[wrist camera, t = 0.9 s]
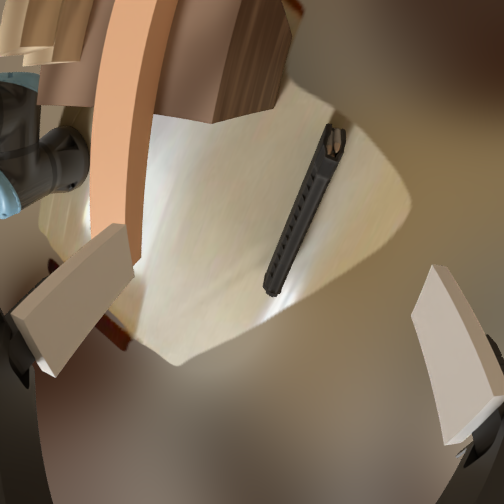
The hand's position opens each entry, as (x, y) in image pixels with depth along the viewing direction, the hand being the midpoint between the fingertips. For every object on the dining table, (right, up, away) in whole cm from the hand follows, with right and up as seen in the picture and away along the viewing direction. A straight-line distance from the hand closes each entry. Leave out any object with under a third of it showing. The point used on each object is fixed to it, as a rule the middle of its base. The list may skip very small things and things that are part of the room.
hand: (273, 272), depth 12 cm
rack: (-4, +31, +29) cm, 43 cm away
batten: (-8, +12, +3) cm, 15 cm away
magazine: (+8, +9, +40) cm, 41 cm away
